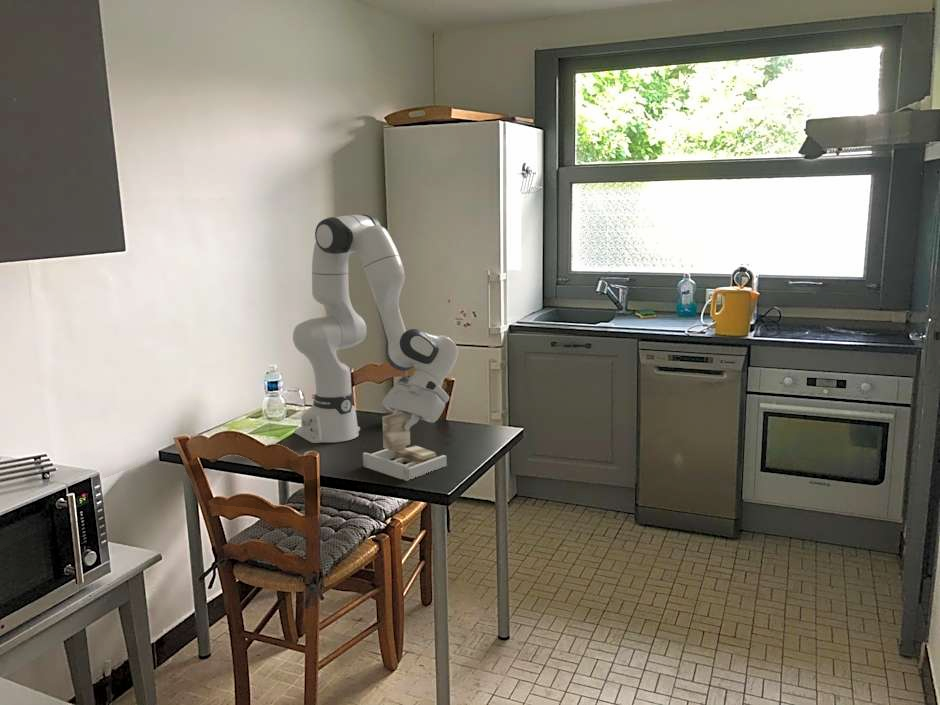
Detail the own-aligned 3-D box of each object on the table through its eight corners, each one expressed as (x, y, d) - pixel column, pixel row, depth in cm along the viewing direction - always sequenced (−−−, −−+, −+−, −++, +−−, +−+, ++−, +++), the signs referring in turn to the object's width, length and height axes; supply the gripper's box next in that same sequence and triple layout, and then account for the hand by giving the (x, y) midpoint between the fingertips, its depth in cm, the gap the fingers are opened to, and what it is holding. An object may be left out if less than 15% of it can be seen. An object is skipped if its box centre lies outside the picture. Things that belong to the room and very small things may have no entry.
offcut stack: (394, 459, 229) (393, 447, 228) (408, 454, 233) (407, 442, 232) (427, 469, 219) (427, 457, 219) (441, 464, 223) (441, 452, 223)
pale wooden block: (383, 447, 218) (382, 416, 217) (401, 441, 223) (401, 411, 222) (391, 450, 216) (390, 419, 214) (410, 444, 221) (409, 413, 219)
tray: (363, 466, 223) (362, 453, 222) (403, 452, 234) (403, 440, 233) (406, 481, 211) (406, 466, 210) (446, 465, 222) (446, 452, 221)
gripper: (392, 375, 229) (368, 414, 224) (442, 387, 216) (417, 429, 211) (404, 386, 233) (380, 425, 228) (454, 399, 220) (429, 441, 215)
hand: (398, 427), depth 219 cm, fingers closed on pale wooden block, 3 cm apart
